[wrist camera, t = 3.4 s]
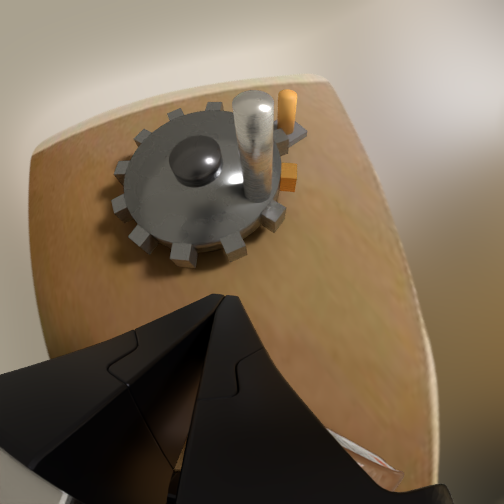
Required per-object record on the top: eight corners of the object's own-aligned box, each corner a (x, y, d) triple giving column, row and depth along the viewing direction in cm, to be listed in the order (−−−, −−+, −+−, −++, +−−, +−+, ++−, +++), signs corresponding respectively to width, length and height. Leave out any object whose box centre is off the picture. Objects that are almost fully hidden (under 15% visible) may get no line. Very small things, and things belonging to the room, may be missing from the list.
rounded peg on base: (284, 150, 26) (287, 111, 21) (263, 132, 26) (262, 93, 21) (306, 136, 26) (312, 97, 21) (285, 119, 27) (288, 81, 22)
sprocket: (290, 276, 21) (313, 209, 10) (102, 258, 22) (18, 201, 12) (296, 119, 25) (305, 25, 15) (147, 119, 26) (112, 41, 16)
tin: (205, 387, 20) (169, 411, 12) (229, 355, 20) (206, 363, 12) (358, 476, 16) (396, 524, 8) (381, 447, 17) (430, 486, 9)
